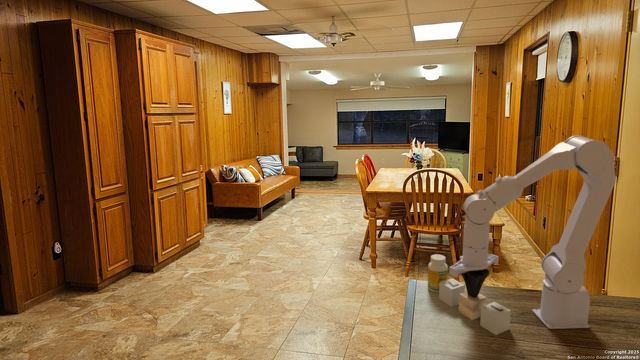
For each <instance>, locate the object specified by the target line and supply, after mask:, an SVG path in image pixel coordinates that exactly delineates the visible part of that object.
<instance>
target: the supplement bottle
mask: <svg viewBox="0 0 640 360" xmlns="http://www.w3.org/2000/svg"><path fill="white" fill-rule="evenodd" d="M446 258H447V257H446V256H445V255H442V254H439V253H435V254H432V255H430V262H429V263H428V265H427V289H428V290H430V291H431V292H432V293H438V294H439V286H440V282H442V281H445V280H448V279H449V278H448V276H449V275H448V274H449V266H448V264H447V263H446V260H447V259H446Z"/></svg>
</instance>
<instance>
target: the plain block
mask: <svg viewBox="0 0 640 360" xmlns="http://www.w3.org/2000/svg"><path fill="white" fill-rule="evenodd" d="M485 305H487V296H485V295H483V294H481V293H480V292H479V295H478V297H475V298H473V297H471V296H469V295H468V293H467V290H466V291H465V292H463V293H460V294H459V304H458V310H457V311H458V313H460V314H462V315H463V316H465V317H466V318H468V319H469V320H471V321H473V320H476V319H478V318H481V307H482V306H485Z"/></svg>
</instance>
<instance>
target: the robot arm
mask: <svg viewBox="0 0 640 360" xmlns="http://www.w3.org/2000/svg"><path fill="white" fill-rule="evenodd" d="M614 158H615V154H614V153H613V151H612V150H611V148H610V147H609V146H608V144H606V143H605V142H603V141H600V140H598V139H597V140H595V139H591V138H588V136H587V137H586V136H585V135H581V134H580V135H579V134H578V135H577V134H576V135H572V136H570V137H568V138H567V139H566V140H564V141H561V142H560V143H557V144H556V145H555V146H554V147H552V149H550V150H549V151H548V152H546V153H545V154H543V155H542V156H541V157H539V158H538V159H536V160H535V161H534V162H532V163H531V164H529V165H528V166H527V167H525V168H524V169H522V170H520V171H519V172H518V173H516V175H514V176H510V175H505V176H503V177H501V176H497V177H496V178H495V179H494V181H495V182H494V183H492V184H491V185H489V186H487V187H486V188H484V189H483V190H482V189H479V190H478V191H477V193H476V194H471V195H469V196H467V198H466V199H465V201H464V203H463V204H462V208H463V211H464V212H465V217H464V226H463V242H462V255H460V256H459V259H460V260H458V261H457V262H456V263H454V264H453V265H451V266H449V267H448V274H449V276H452V277H455V278H457V277H459V275H461V277H462V279H463V281H464V285H465V289H466V291H467V293H468V295H469V296H471V297H473V298H475V297H478V295H479V293H480V292H481V289H482V287H483V284H484V283H485V281H486V280H487V278H488V277H489V275H490V270H489V269H488V268H489V267H490V266H491V265H492V264H493V265H497V264H498V265H499V257H500V256H498V255H495V254H492V253H491V254H490V253H489V242H490V221H491V220H492V219H493V218H494V215H495V213H496V212H499V210H502V209H503V208H505V207H507V206H508V205H509V204H511V203H513V202H515V201H516V200H518V199H519V198H520V197H522V195H523V191H524V189H525V188H526V187H528V186H530V185H532V184H533V183H536V182H537V181H540V180H541V179H542V178H544V177H546V176H548V175H550V174H553V172H555V171H557V170H572V171H573V170H577V171H578V173H579V174H580V175H581V178H582V179H583V184H582V187H581V188H580V189H581V190H580V191H579V194H578V197H577V199H576V201H575V204H574V206H573V208H572V210H571V213H570V215H569V219H567V222H566V224H565V227H564V230H563V232H562V235H561V237H560V239H559V242H558V243H556V244H554V245H552V246H551V249H550V251H549V252H548V253H547V254H546V255H545V256H544V257H543V258H542V260H541V270H542V271H543V273H544V275H545V276H544V278H543V280H542V288H541V289H542V290H541V299H540V308H532V313H533V314H534V315H535V316H536V317H537V318H538V319H539V320H540V321H541V322H542V323H543V324H544V325H545V326H546V328H547V329H550V330H556V329H557V330H558V329H559V330H560V329H561V330H563V329H588V328H590V325H589V324H588V321H589V313H590V305H591V298H590V297H591V296H590V293H589V291H588V290H587V288H586V287H585V286H584V285H585V275H584V274H585V271H586V267H587V266H586V257H585V253H586V250H587V248H588V246H589V243H590V241H591V239H592V236H593V234H594V232H595V230H596V228H597V226H598V223H599V221H600V218H601V216H602V214H603V211H604V210H605V208H606V207H605V206H606V205H607V202H608V200H609V198H610V195H611V193H612V191H613V188H614V187H615V184H616V180H617V177H616V171H615V166H614Z"/></svg>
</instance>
